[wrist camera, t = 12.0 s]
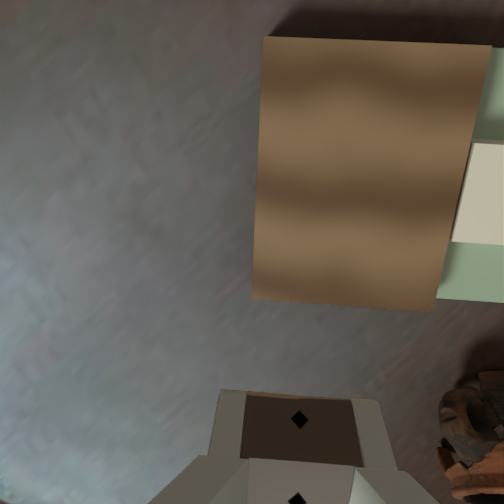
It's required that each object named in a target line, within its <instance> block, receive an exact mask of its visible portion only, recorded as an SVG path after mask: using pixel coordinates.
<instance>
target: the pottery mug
mask: <svg viewBox="0 0 504 504" xmlns="http://www.w3.org/2000/svg"><path fill="white" fill-rule="evenodd" d="M478 378H479V381H480V388H481V392H480V391H479V390H477V389H475V388H473V387H469V386H461V387H458V388H457V389H453V390H451V391H448V392H447V393H445V395H444V396H443V398H442V400H441V401H440V404H439V410H438V414H439V422H440V427H441V430H442V432H443V434H444V436H445V438H446V439H447V440H448V442H449V443H450V444H451V445H452V446H453V447H454V449H455V451H456V453H457V455H458V456H459V457H460V458H461V459H463V460H466V461H473V464H471V465H470V466H469V467H468V466H467V465H466V464H464V462H462V461H458V462H456V463H455V462H454V460H453V457H452V455H451V453H450V451H449V450H448V449H447V448H442V447H437V448H436V450H437V458H438V459H439V462H440V466H441V467H442V469H443V471H444V474H445V476H446V477H447V478H448V479H449V480H450V481H451V483H452V490H451V494H452V496H453V497H454V498H456V499H460V500H463V499H465V502H466V504H504V438H501V439H498V435H497V433H496V432H495V431H494V429H495V428H496V427H497V426H498V425H500V424H502V425H503V427H504V371H503V370H497V371H482V372H479V373H478Z"/></svg>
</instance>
